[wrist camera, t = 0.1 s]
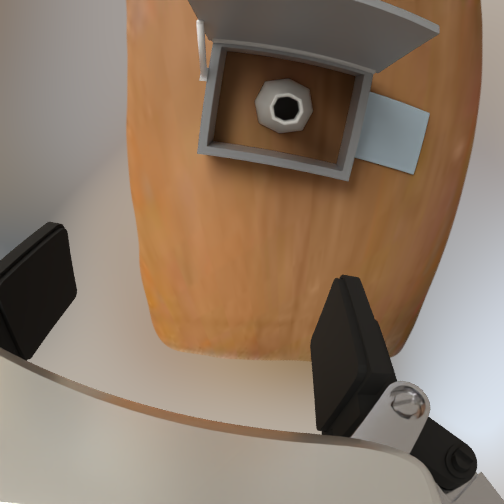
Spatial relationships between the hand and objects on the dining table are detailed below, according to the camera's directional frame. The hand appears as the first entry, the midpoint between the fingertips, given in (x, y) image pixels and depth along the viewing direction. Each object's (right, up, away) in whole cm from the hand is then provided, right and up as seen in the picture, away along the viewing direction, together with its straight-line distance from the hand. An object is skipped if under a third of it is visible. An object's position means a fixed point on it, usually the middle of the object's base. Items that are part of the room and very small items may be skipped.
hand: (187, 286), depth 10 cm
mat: (+20, +16, +25) cm, 36 cm away
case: (+6, +19, +25) cm, 32 cm away
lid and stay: (+7, +23, +19) cm, 30 cm away
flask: (+6, +19, +25) cm, 32 cm away
